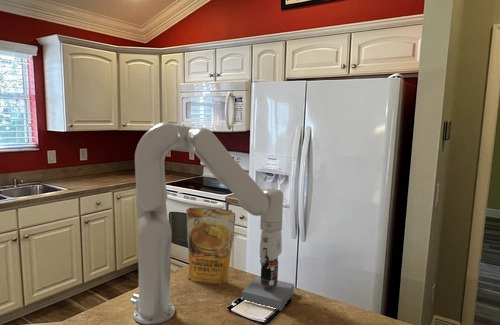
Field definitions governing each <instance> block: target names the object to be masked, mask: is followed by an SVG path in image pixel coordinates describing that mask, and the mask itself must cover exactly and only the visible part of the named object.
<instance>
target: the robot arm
mask: <svg viewBox="0 0 500 325" xmlns="http://www.w3.org/2000/svg"><path fill="white" fill-rule="evenodd" d="M169 151H175V152H177V151H179V152H187V153H194V154H195V156H196V157H197V158H198V159H199V160H200V161H201V162H202V164H203V165H205V168H207V170H208V171H209V172H210V173H211V174H212V175H213V176H214V178H215V179H216V180H217V181H218V182H220V184H222V185H223V186H225V188H227V189H228V190H229V191H230V192H231V193H232V194H233V195H234V196H235V197H236V199H237V203H238V206H239V207H240V208H241V209H243V210H245V211H246V212H247V213H249V214H250V215H252V216H255V217H258V216H260V222H259V223H260V225H259V226H260V228H259V229H260V230H261V233H260V241H259V264H260V277H261V278H262V279H267V280H270V274H271V268H270V263H271V261H273V260H275V259H277V260H278V261H279V258H278V257H279V256H280V255H281V254H282V253H283V252H282V249H283V248H282V247H283V246H282V245H283V244H282V230H283V210H284V209H283V207H284V192H283V191H282V190H280V189H277V188H266V189H261V188H260V186H259V185H258V183H257V182H256V181H255V180H254V179H253V178H252V177H251V175H249V174H248V173H247V172H246V171H245V169H243V167H242V166H241V165H240V163H238V162H237V160H236V159H235V158H234V157H233V156H232V155H231V153H230V152H229V151H228V150H227V149H226V147H225V145H223V143H222V142H221V140H219V138H218V137H217V136H216V134H214V132H212V131H211V130H210V129H209V128H206V127H194V126H193V127H192V126H183V125H178V124H173V123H171V122H167V121H164V122H160V123H157V124H154V126H153V127H151V128H150V129H149V130H147V131H146V132H145V133H144V134H143V135H142V137H141V138H140V140H139V141H138V143H137V146H136V149H135V152H134V170H135V171H134V173H135V192H134V194H135V206H136V214H137V215H136V217H137V231H138V232H137V234H138V236H137V237H138V238H137V239H138V293H134V294H133V295H132V298H131V299H130V304H133V305H135V308H134V311H133V313H132V314H133V319H134V320H135V321H136V322H138V323H139V324H142V325H156V324H157V325H158V324H162V323H164V322H166V321H168V320H170V319H172V317H173V316H174V315H175V314H176V307H175V305H174V304H173V303H171V252H172V248H171V247H172V237H173V233H172V232H173V231H172V226H171V223H170V221H169V219H168V213H167V211H168V210H167V199H168V190H167V185H166V172H165V166H166V165H165V160H166V159H165V158H166V156H167V154H168V153H169ZM266 257H268V258H269V259H266ZM265 260H266V261H268V264H267V262H266V261H265Z"/></svg>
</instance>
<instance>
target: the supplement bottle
mask: <svg viewBox="0 0 500 325" xmlns="http://www.w3.org/2000/svg"><path fill="white" fill-rule="evenodd" d="M266 259H269V258H268V257H266ZM265 261H266V260H265ZM266 262H267V264H268V261H266ZM270 268H271V274H270V280H267V279H262V278H261V285H262V286H264V287H269V288H272V287H275V286H276V285H277V282H278V281H279V280H278V277H279V276H278V274H279V259H278V260H277V259H275V260H273V261H271V263H270Z"/></svg>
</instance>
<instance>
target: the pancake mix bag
mask: <svg viewBox="0 0 500 325" xmlns="http://www.w3.org/2000/svg"><path fill="white" fill-rule="evenodd" d="M185 211H186V228H187V229H186V234H187V235H186V237H187V238H186V240H187V247H188V248H187V250H188V251H187V252H188V274H187V279H189V280H191V281H192V282H196V283H203V284H213V285H223V284H228V283H229V278H228V277H229V276H228V274H229V271H230V270H229V269H230V265H231V263H230V262H231V256H232V250H233V242H234V235H235V234H234V233H235V223H236V212H233V210H231V209H219V208H218V209H216V208H211V207H210V208H209V207H207V208H206V207H189V208H186V210H185Z"/></svg>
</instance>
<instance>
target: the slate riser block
mask: <svg viewBox="0 0 500 325" xmlns="http://www.w3.org/2000/svg"><path fill="white" fill-rule="evenodd" d="M294 291H295V283H291V282H287V281H284V280H283V281H282V280H278V282H277V285H276V286H275V287H272V288H269V287H264V286H262V285H261V275H259V276H257V277H256V278H255V279H253V281H252V282H251V283H249V285H248V286H246V287H245V289H243V290H242V297H241V298H242V299H244V300H247V301H250V302H254V303H257V304H261V305H265V306H270V307H273V308H278V309H279V312H282V310H283V309H284V308H285V306H286V305H287V303H288V302H289V301H288V300H290V299H291V298H292V296H293V295H294V293H295V292H294ZM242 299H241V300H242ZM287 301H288V302H287ZM285 304H286V305H285Z"/></svg>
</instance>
